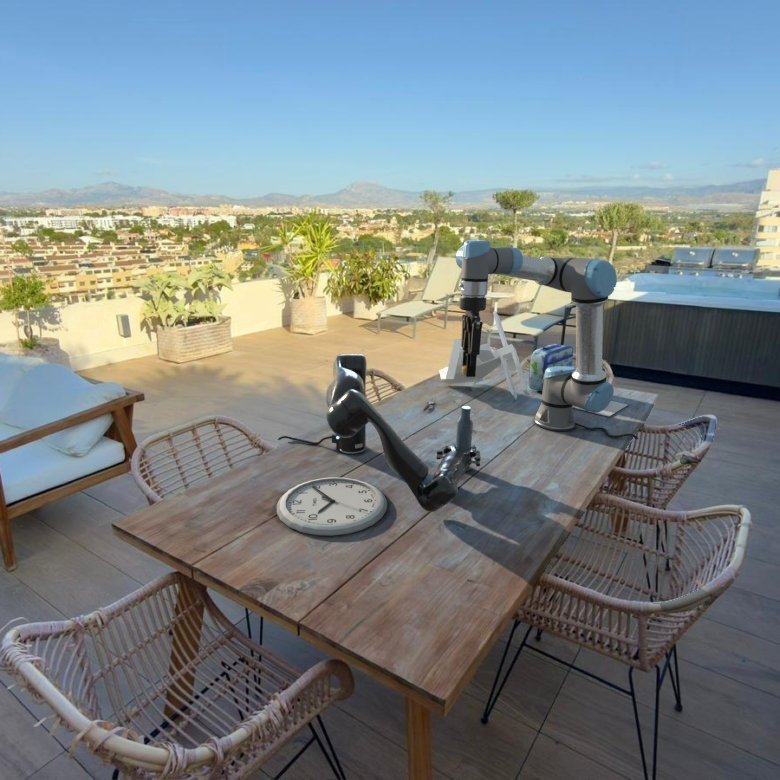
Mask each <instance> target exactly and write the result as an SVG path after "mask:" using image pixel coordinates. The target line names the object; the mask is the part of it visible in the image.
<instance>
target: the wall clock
mask: <svg viewBox="0 0 780 780" xmlns="http://www.w3.org/2000/svg"><path fill="white" fill-rule="evenodd" d="M387 509H388V500H387V498H386V496H385V494H384V493H383V492H382V491H381V490H380V489H379V488H377V487H376V486H374V485H372V484H371V483H369V482H365V481H362V480H359V479H355V478H349V477H338V476H337V477H335V476H333V477H332V476H331V477H322V478H317V479H312V480H307V481H305V482H302V483H299V484H297V485H295V486H293V487H292V488H290V489H288V490H287V491H286V492H285V493H284V494H283V495H281V496H280V498H279V499H278V502H277V503H276V515H277V517H278V518H279V520H280V521H281V522H282V523H283V524H285V525H286V526H287V527H288V528H290V529H293V530H295V531H297V532H299V533H303V534H308V535H312V536H327V537H328V536H329V537H331V536H332V537H333V536H342V535H350V534H352V533H356V532H361V531H363V530H366V529H368V528H369V527H372V526H373V525H375V524H376V523H378V522H379V521H380V520H381V519H382V518H383V517H384V516H385V514H386V512H387Z"/></svg>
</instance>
